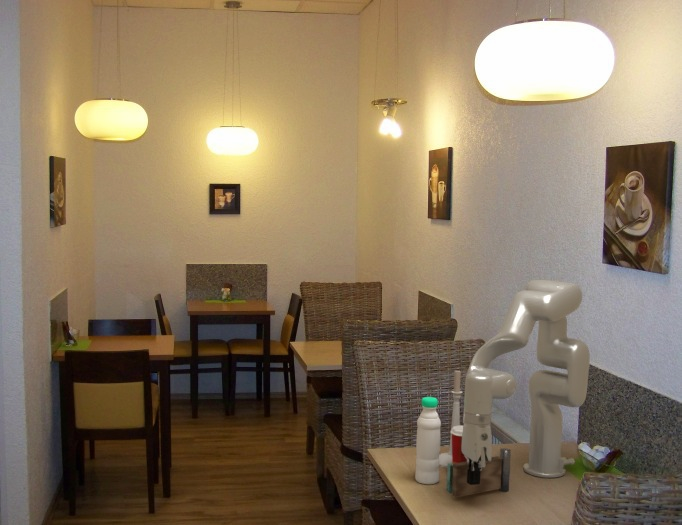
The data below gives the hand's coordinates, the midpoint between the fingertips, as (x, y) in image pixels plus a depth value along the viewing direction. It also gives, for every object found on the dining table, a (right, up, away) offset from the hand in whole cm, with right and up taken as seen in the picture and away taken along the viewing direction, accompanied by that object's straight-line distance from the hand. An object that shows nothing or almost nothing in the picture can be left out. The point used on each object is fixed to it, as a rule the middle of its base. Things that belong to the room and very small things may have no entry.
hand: (473, 483), depth 226 cm
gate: (+2, -4, +6) cm, 7 cm away
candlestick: (0, -3, +34) cm, 35 cm away
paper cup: (0, -4, +24) cm, 25 cm away
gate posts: (+3, -5, +9) cm, 11 cm away
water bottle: (-11, -4, +17) cm, 21 cm away
